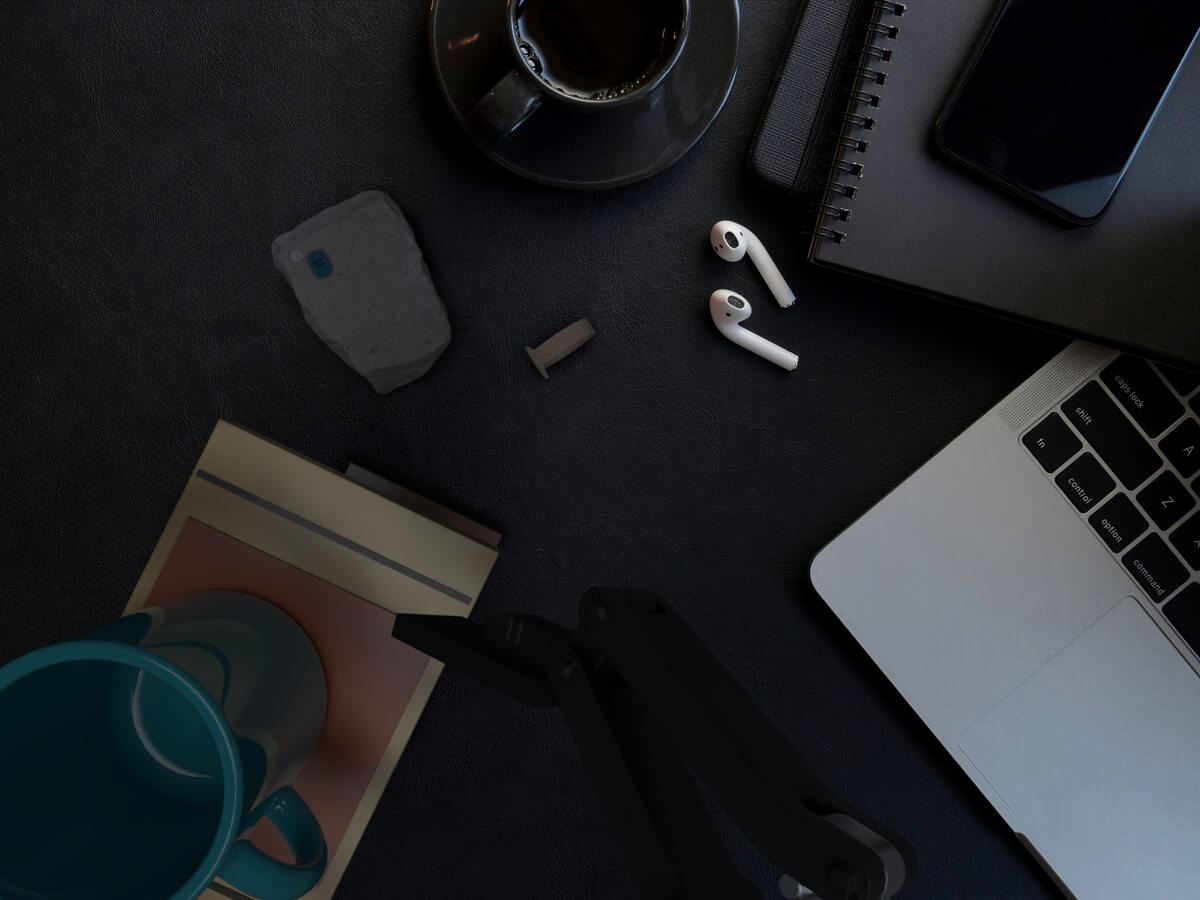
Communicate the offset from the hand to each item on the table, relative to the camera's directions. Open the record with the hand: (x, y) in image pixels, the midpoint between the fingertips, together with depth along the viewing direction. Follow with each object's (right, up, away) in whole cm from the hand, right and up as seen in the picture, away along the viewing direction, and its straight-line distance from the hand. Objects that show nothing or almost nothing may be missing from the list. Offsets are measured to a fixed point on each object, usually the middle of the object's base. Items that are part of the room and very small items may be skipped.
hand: (377, 829), depth 30 cm
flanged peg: (+4, +20, +38) cm, 43 cm away
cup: (-7, +1, +9) cm, 11 cm away
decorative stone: (-9, +24, +37) cm, 45 cm away
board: (-7, +2, +10) cm, 13 cm away
